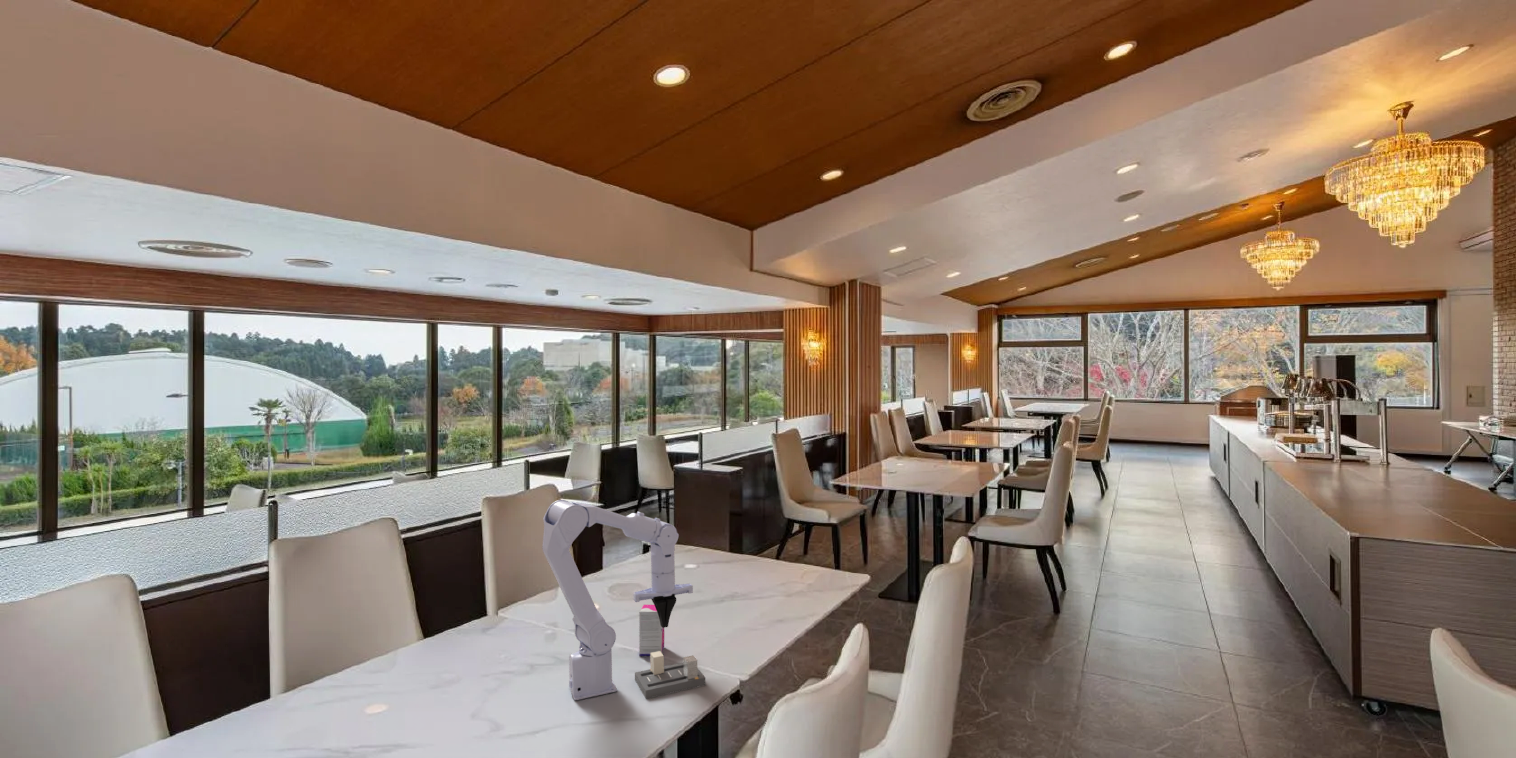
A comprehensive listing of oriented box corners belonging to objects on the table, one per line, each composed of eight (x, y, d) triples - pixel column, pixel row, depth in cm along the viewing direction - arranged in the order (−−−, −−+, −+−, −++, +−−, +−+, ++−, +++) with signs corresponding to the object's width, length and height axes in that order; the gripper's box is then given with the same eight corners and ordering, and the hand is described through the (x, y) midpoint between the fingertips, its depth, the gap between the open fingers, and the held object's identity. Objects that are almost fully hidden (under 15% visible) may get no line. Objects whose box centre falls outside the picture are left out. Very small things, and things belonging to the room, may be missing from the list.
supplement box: (661, 656, 166) (660, 611, 167) (638, 656, 167) (637, 611, 167) (665, 647, 172) (664, 603, 172) (643, 647, 172) (642, 604, 172)
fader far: (654, 677, 152) (653, 657, 152) (650, 672, 154) (650, 652, 154) (664, 675, 153) (663, 655, 153) (660, 670, 155) (660, 650, 155)
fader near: (687, 682, 149) (687, 662, 149) (683, 677, 152) (683, 657, 152) (697, 680, 150) (697, 660, 150) (693, 674, 153) (693, 655, 153)
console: (645, 698, 144) (645, 690, 144) (635, 680, 153) (634, 672, 153) (705, 685, 150) (705, 676, 150) (691, 668, 159) (691, 660, 159)
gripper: (637, 579, 154) (639, 637, 154) (696, 570, 160) (697, 626, 160) (630, 571, 160) (632, 627, 160) (687, 563, 166) (688, 617, 166)
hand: (664, 626), depth 161 cm, fingers closed
